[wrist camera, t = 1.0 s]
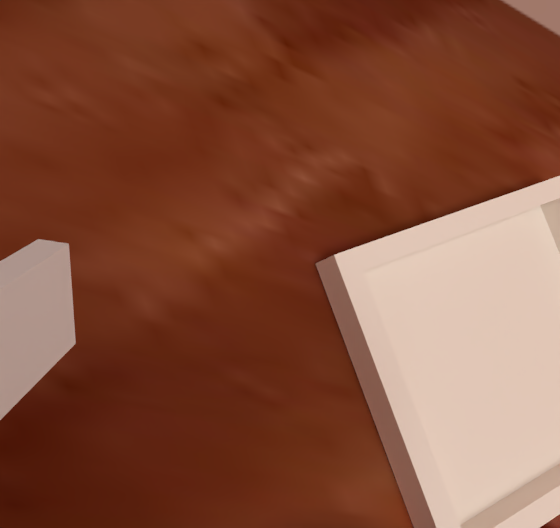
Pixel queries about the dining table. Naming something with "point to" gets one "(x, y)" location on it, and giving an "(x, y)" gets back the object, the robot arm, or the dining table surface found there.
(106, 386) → the dining table surface
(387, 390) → the cream tray
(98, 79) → the dining table surface
